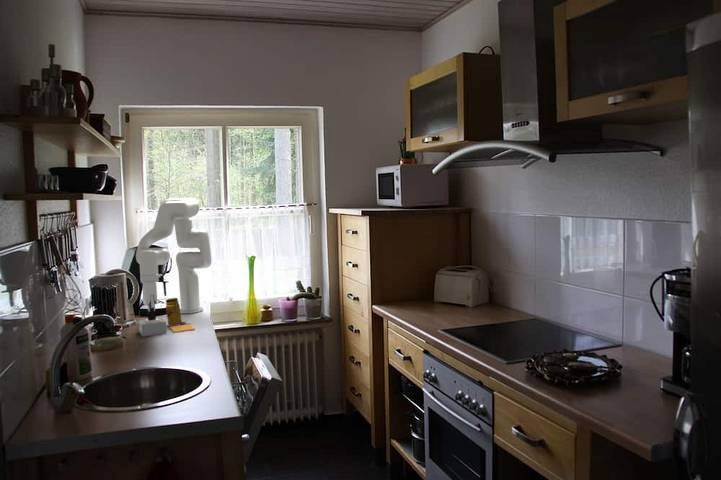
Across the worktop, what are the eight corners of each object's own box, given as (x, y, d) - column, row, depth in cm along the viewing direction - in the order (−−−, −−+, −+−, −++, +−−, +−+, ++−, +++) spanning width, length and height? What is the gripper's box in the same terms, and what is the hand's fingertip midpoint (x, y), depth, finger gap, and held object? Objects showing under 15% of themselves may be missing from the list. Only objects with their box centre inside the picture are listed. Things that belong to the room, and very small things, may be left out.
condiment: (164, 326, 275) (160, 300, 275) (175, 322, 283) (172, 297, 283) (177, 325, 273) (174, 299, 272) (188, 321, 281) (185, 296, 280)
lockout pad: (169, 327, 272) (169, 326, 272) (189, 325, 276) (189, 324, 276) (174, 332, 262) (174, 331, 262) (194, 329, 266) (194, 328, 266)
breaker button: (145, 328, 265) (145, 319, 265) (157, 326, 267) (157, 317, 267) (147, 330, 260) (146, 321, 260) (159, 328, 263) (158, 319, 262)
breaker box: (139, 331, 266) (138, 319, 266) (162, 328, 271) (162, 316, 270) (142, 336, 257) (141, 323, 257) (166, 333, 262) (165, 320, 261)
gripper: (138, 277, 267) (140, 318, 268) (142, 281, 254) (145, 324, 255) (155, 275, 270) (158, 316, 272) (161, 279, 257) (163, 321, 258)
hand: (151, 319), depth 263 cm, fingers closed
